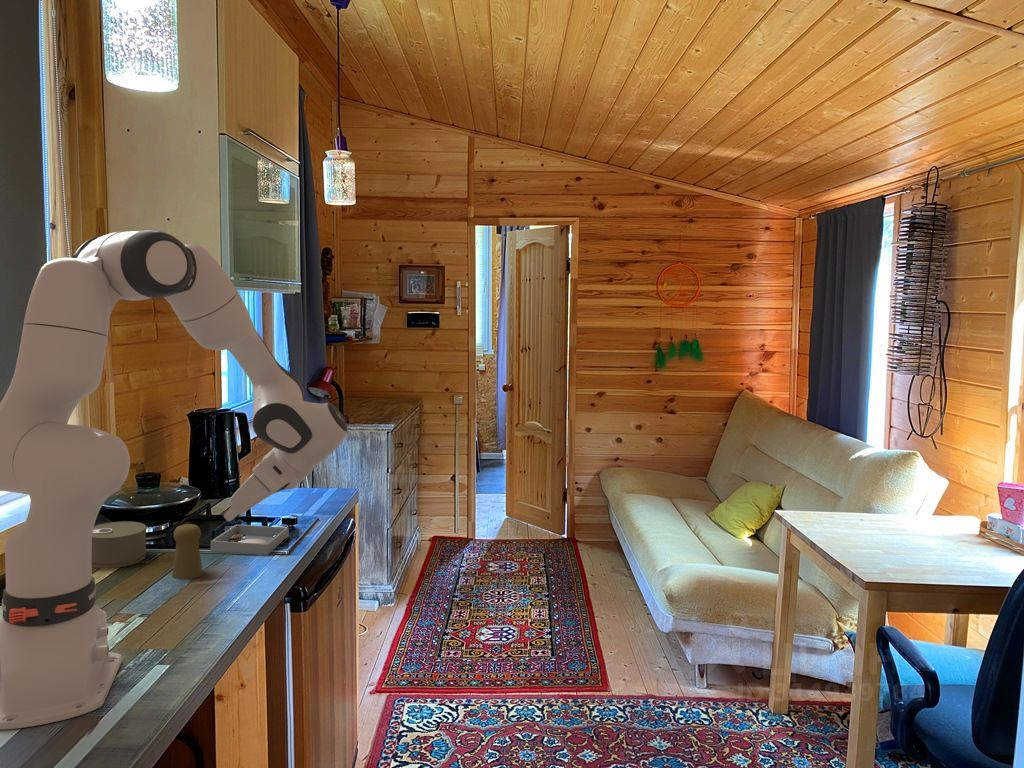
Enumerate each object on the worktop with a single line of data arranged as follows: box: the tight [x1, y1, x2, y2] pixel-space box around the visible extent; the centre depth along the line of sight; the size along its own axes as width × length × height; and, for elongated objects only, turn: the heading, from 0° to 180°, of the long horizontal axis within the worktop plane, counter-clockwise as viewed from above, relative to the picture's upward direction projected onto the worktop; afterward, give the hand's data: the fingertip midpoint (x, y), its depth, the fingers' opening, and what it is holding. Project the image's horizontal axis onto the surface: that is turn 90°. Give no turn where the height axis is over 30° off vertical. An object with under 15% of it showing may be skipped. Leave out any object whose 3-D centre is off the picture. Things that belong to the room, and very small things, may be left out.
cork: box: [171, 523, 204, 580], centre depth 155 cm, size 6×6×11 cm
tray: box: [210, 523, 290, 556], centre depth 175 cm, size 13×13×3 cm
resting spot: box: [238, 539, 267, 544], centre depth 175 cm, size 7×7×1 cm
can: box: [92, 520, 147, 569], centre depth 163 cm, size 12×12×7 cm
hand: (237, 511), depth 153 cm, fingers open, 8 cm apart
